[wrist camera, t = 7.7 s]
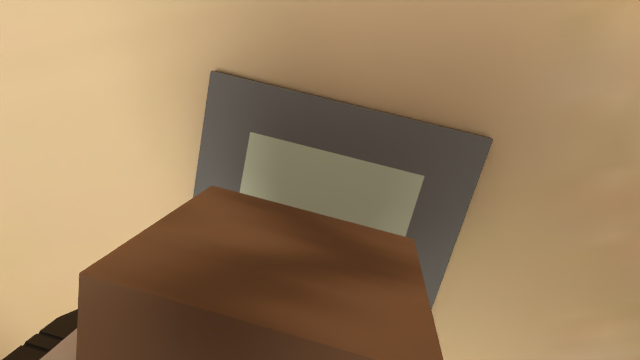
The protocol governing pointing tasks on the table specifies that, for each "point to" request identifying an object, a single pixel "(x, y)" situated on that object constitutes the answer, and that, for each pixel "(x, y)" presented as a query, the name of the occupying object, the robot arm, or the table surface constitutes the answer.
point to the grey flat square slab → (342, 163)
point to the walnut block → (256, 289)
